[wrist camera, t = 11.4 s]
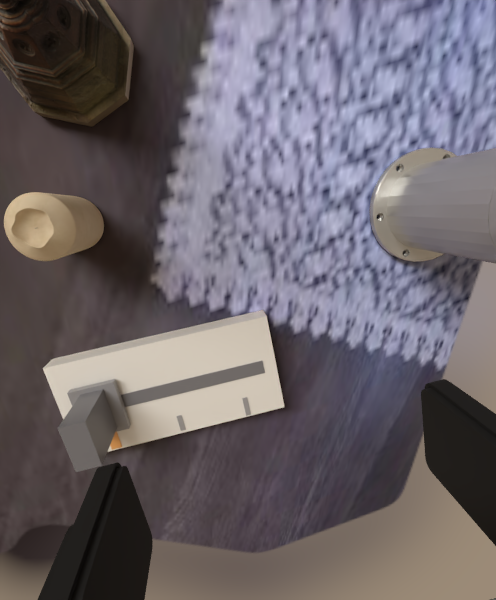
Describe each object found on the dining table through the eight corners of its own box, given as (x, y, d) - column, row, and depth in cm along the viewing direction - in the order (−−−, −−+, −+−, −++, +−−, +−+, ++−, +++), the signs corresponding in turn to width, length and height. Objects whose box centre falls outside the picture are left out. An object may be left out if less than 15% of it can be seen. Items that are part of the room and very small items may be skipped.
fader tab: (115, 378, 38) (96, 413, 32) (130, 424, 40) (116, 466, 33) (69, 389, 38) (41, 427, 31) (87, 435, 39) (64, 479, 33)
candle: (110, 245, 37) (78, 257, 28) (58, 253, 37) (7, 269, 27) (97, 192, 36) (57, 185, 26) (42, 200, 35) (-18, 197, 26)
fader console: (263, 310, 41) (266, 316, 39) (280, 396, 44) (284, 407, 42) (52, 358, 40) (42, 368, 37) (86, 444, 43) (79, 459, 40)
